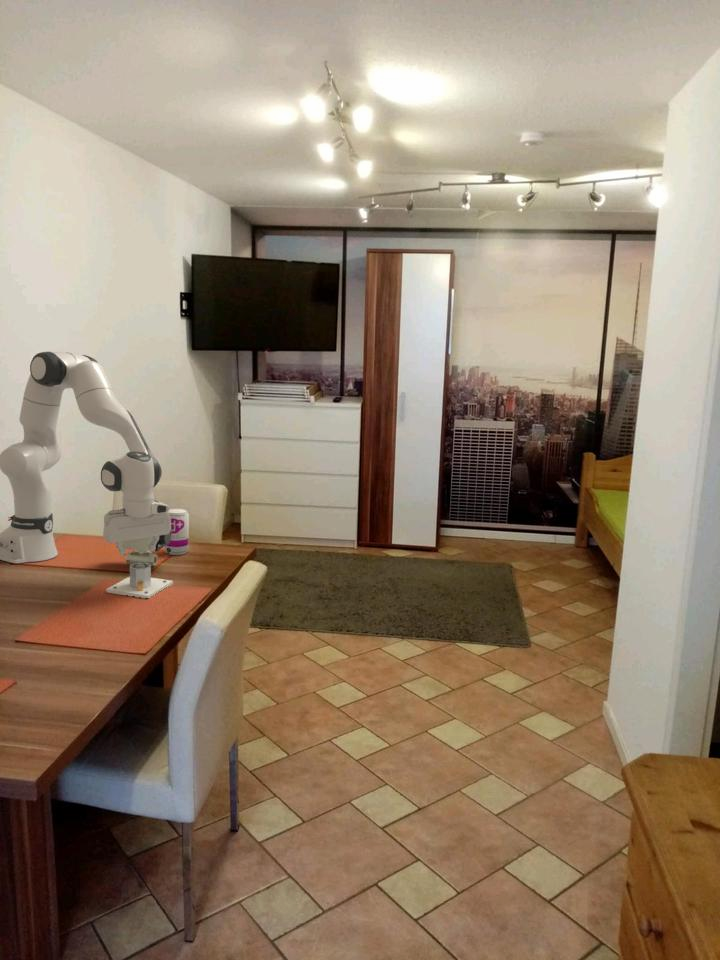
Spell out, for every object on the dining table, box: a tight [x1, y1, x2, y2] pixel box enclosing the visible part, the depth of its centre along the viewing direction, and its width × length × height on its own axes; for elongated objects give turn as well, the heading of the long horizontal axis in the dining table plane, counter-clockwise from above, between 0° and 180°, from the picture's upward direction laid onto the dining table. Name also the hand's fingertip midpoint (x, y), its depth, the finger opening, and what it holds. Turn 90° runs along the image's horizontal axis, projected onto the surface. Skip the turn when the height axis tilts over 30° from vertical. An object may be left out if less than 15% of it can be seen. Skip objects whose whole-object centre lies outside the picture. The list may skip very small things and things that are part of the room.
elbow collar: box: [129, 563, 152, 591], centre depth 218 cm, size 8×6×6 cm
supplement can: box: [164, 508, 190, 556], centre depth 254 cm, size 8×8×15 cm
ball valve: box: [116, 529, 172, 567], centre depth 239 cm, size 18×8×18 cm, turn 84°
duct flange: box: [105, 564, 174, 599], centre depth 219 cm, size 14×14×7 cm
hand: (137, 552), depth 217 cm, fingers open, 8 cm apart
